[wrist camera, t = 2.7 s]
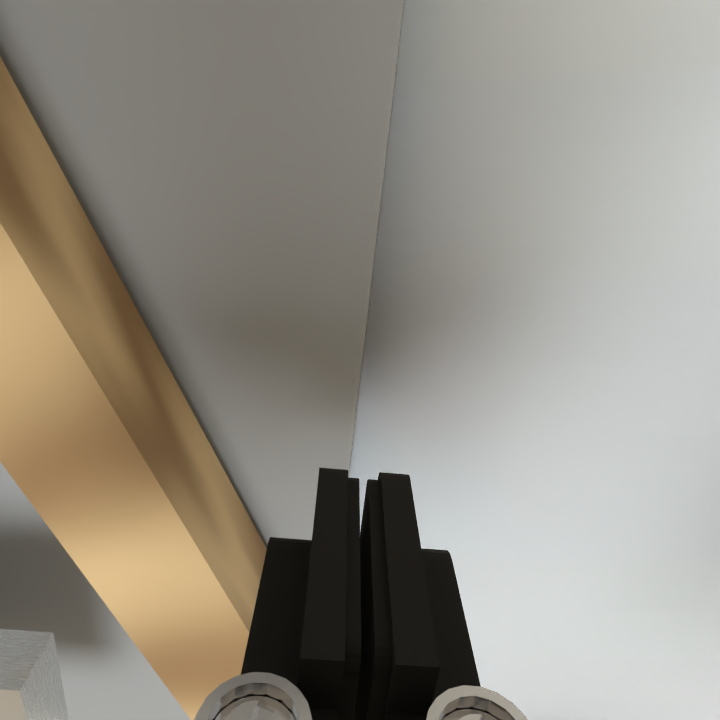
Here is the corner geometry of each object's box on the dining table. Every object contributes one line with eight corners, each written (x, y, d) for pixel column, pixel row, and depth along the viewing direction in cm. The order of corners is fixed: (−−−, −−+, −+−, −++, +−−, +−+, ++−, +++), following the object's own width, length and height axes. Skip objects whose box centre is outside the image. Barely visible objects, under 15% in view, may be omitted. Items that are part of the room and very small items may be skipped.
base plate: (-641, -485, 10) (-806, -583, 8) (437, -321, 11) (449, -385, 9) (-158, 673, 22) (-192, 710, 21) (320, 703, 23) (317, 741, 22)
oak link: (-340, -189, 10) (-1629, -733, 3) (-156, -289, 9) (-1274, -1152, 3) (213, 650, 19) (139, 930, 13) (323, 623, 18) (304, 900, 12)
